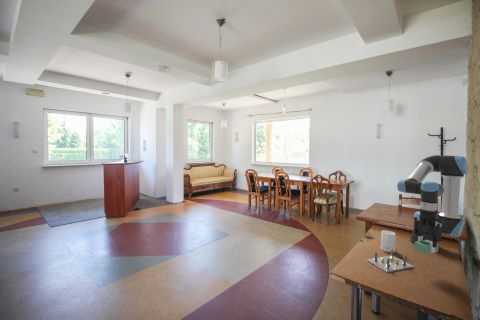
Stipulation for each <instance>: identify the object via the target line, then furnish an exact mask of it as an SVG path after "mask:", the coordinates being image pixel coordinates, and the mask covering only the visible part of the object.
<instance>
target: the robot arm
mask: <svg viewBox="0 0 480 320" xmlns="http://www.w3.org/2000/svg"><path fill="white" fill-rule="evenodd" d="M468 171H469V166H468V161H467V159H466V157H465V156H462V155H439V154H438V155H437V154H436V155H429V156H427V157H426V158H422V159H420V161H418V163H417V164H416V168H415V169H414V170H413V171H412V172H411V173H410V175H409V176H408V177H407V178H406V179H405V180H404V179H402V180H398V181H397V186H396V187H397V190H398V192H401V193H406V194H413V195H420V204H419V208H420V209H419V211H415V212H414V214H413V228H412V229H413V231H412V233H411V235H410V236H409V241H410V242H411V243H412V244H414V245H415V242H417V241H423V240H429V241H431V244H430V253H429V254H435V253H436V252H435V247H437V244H438V243H439V242H442V241H443V240H442V238H443V237H442V235H446V236H449V237H455V238H457V237H460V236H461V234H462V231H463V229H464V225H465V221H464V220H462V216H460V214H459V206H460V191H461V179H463V178H464V177H465V175H468ZM432 172H435V173H440V176H441V177H442V180H443V181H442V184H441V183H438V182H436V181H425V179H426V177H427V176H428V175H429V174H431V173H432ZM439 197H441V209H440V212H438V211H437V210H438V205H439V202H438V201H439Z"/></svg>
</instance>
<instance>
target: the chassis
mask: <svg viewBox="0 0 480 320" xmlns="http://www.w3.org/2000/svg"><path fill="white" fill-rule="evenodd" d="M368 261H369V262H368ZM366 262H368V263H370V264H372V265H373V264H374V266H375V267H377V268H379V270H382V271H384V272H386V273H387V274H388V273H392V272H398V271H404V270H407V269H413V268H414V267H415V265H413V264H410V263H409V262H407V256H406V255H403V256H402V259H400V258H398V257H397V256H395V255H394V252H393V250H390V252H389V255H384V256H379V257H378V252H377V251H374V257H372V258H368V259H366Z"/></svg>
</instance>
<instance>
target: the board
mask: <svg viewBox="0 0 480 320" xmlns="http://www.w3.org/2000/svg"><path fill="white" fill-rule="evenodd" d="M430 244H431V241H429V240H423V241H417V242H415V244H414V246H413V247H414V251H417V252H419V253H422V254H425V255H427V254H428V255H429V254H431V253H430ZM438 252H439V243H437V247H435V252H434V253H438Z"/></svg>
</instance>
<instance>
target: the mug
mask: <svg viewBox="0 0 480 320" xmlns="http://www.w3.org/2000/svg"><path fill="white" fill-rule="evenodd" d="M380 237H381V238H380V247H379V248H380V250H381V251H384V252H386V253H390V250H393V253H396V249H395V248H396V233H395V232H394V231H391V230H386V229H385V230H382V231H381V236H380Z"/></svg>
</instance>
